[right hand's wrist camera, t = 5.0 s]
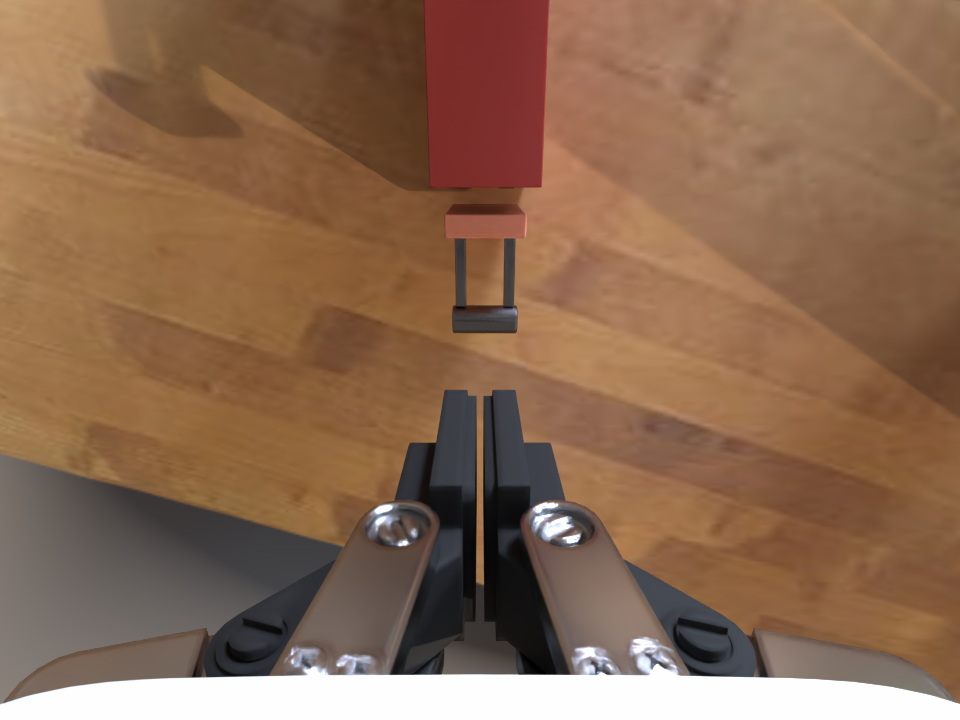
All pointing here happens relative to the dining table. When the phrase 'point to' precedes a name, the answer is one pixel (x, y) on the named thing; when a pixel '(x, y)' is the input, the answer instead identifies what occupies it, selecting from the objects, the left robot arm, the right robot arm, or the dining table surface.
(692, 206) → the dining table surface
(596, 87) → the dining table surface
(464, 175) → the cabinet
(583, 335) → the dining table surface
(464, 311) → the drawer
